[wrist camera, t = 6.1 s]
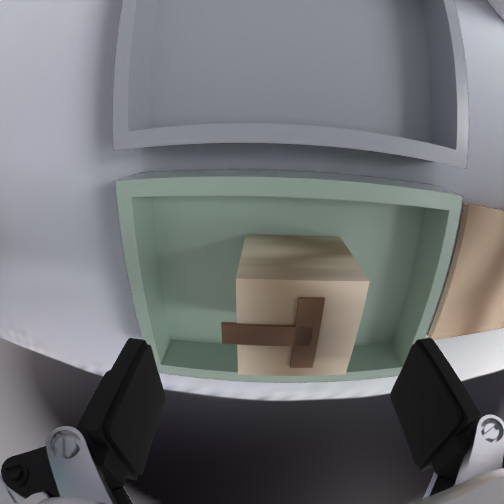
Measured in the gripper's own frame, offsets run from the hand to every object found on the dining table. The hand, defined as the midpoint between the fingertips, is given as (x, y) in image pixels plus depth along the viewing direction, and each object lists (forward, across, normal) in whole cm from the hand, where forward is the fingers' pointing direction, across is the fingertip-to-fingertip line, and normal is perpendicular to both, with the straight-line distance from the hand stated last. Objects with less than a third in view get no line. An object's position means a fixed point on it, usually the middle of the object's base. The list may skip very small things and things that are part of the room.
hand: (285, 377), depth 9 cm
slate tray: (+8, -1, -13) cm, 15 cm away
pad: (+7, -17, 0) cm, 18 cm away
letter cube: (+7, -1, 0) cm, 7 cm away
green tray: (+8, -1, 0) cm, 8 cm away
